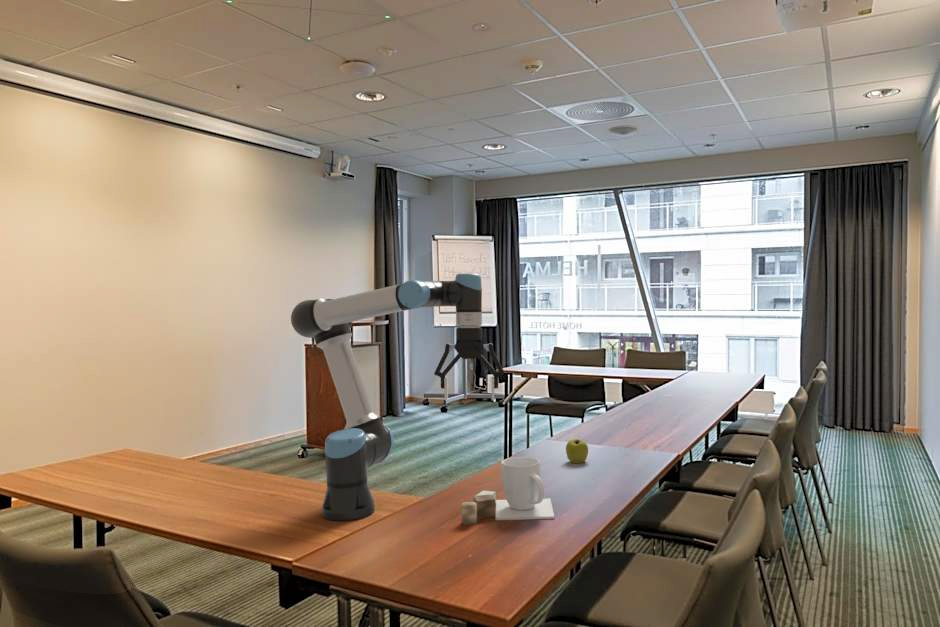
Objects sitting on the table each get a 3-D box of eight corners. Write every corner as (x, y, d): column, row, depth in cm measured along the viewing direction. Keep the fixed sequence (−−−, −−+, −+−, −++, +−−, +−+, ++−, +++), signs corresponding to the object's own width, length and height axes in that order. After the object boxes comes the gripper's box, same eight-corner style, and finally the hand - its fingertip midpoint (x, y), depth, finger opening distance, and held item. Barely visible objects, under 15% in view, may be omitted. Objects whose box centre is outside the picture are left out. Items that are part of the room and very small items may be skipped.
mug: (558, 510, 180) (556, 464, 179) (527, 519, 174) (525, 471, 173) (525, 498, 192) (523, 454, 192) (495, 506, 186) (493, 461, 186)
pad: (495, 520, 176) (495, 517, 176) (496, 501, 192) (496, 499, 192) (554, 518, 175) (554, 516, 175) (550, 500, 191) (550, 498, 191)
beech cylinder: (462, 525, 174) (461, 506, 173) (463, 519, 178) (462, 501, 177) (476, 524, 173) (476, 506, 173) (477, 519, 177) (476, 501, 177)
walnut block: (478, 519, 178) (477, 501, 178) (474, 513, 183) (473, 496, 183) (495, 517, 179) (494, 499, 179) (491, 511, 184) (490, 494, 184)
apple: (569, 455, 241) (575, 430, 239) (588, 463, 236) (594, 438, 234) (559, 460, 234) (565, 434, 232) (578, 469, 230) (585, 443, 228)
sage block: (475, 510, 186) (474, 496, 186) (483, 503, 191) (483, 490, 191) (487, 511, 184) (487, 497, 184) (496, 505, 190) (495, 491, 190)
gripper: (424, 327, 184) (425, 401, 185) (512, 327, 183) (512, 401, 184) (427, 326, 192) (428, 397, 192) (511, 325, 190) (512, 397, 191)
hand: (469, 399), depth 188 cm, fingers open, 13 cm apart
